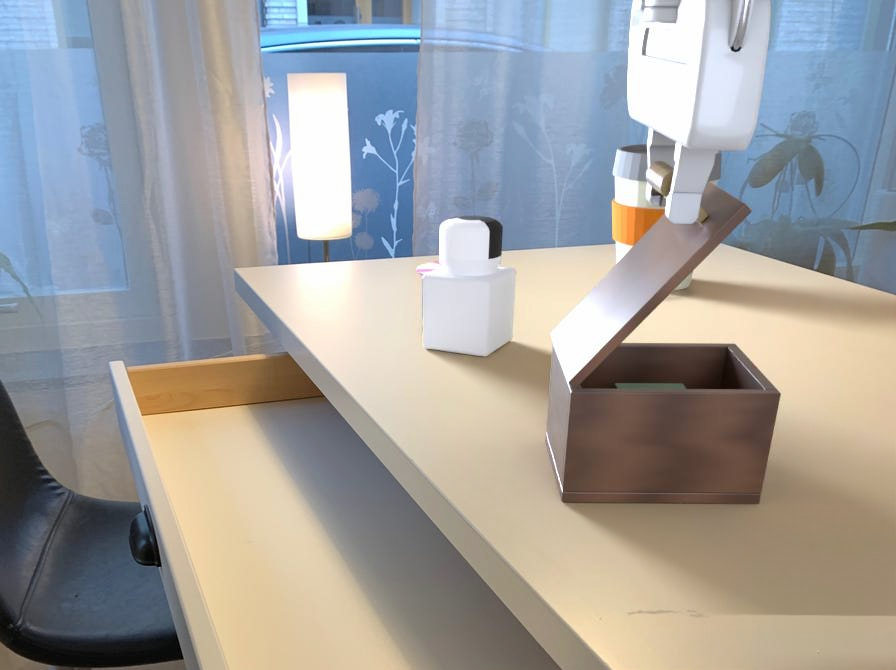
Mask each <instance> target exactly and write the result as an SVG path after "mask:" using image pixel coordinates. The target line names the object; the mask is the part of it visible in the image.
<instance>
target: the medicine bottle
mask: <svg viewBox="0 0 896 670" xmlns="http://www.w3.org/2000/svg"><path fill="white" fill-rule="evenodd" d="M503 231H504V226H503V224H502V223H501V221H499V220H497V219H495V218H493V217H491V216H487V215H473V214H472V215H469V214H468V215H454V216H451V217H449V218H447V219H445V220H443V221H442V222H441V223H440V225H439V242H438V243H439V252H438V254H439V255H438V257H439V258H438V261H439V262H440V263H441V264H442V267H440V268H438V269H436V270H434V271H431V272H429V273H427V274H425V275H422V278H421V279H422V281H421V284H422V285H421V287H422V289H421V295H422V297H421V299H422V300H421V309H422V310H421V346H422V348H423V349H427V350H434V351H442V352H448V353H456V354H463V355H469V356H476V357H477V356H478V357H488V356H490V354H492V353H494V352H495V351H497V350H498V349H500V348H501V347H503V346H504V345H506V344H508V343H509V342H510V341H512V340H513V337H514V336H513V335H514V318H515V299H516V298H515V297H516V281H517V280H516V279H517V278H516V277H517V270H516V269H515V267H510V266H500V265H501V264H502V252H503Z"/></svg>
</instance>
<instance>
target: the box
mask: <svg viewBox="0 0 896 670" xmlns="http://www.w3.org/2000/svg"><path fill="white" fill-rule="evenodd" d="M551 345H552V346H551V359H550V360H551V362H550V372H549V374H550V375H549V388H548V402H547V413H546V426H545V444H546V448H547V452H548V455H549V460H550V463H551V467H552V470H553V474H554V478H555V482H556V485H557V489H558V493H559V496H560V501H561V502H562V503H610V504H611V503H613V504H615V503H617V504H619V503H624V504H625V503H626V504H627V503H629V504H631V503H632V504H749V505H751V504H752V505H753V504H760V501H761V497H762V492H763V487H764V482H765V476H766V472H767V467H768V461H769V457H770V451H771V448H772V447H771V446H772V442H773V435H774V432H775V431H774V430H775V426H776V420H777V415H778V411H779V407H780V401H781V395H782V393H781V392H780V391H779V390H778V389H777V388H776V386H775V385H774V384H773V383H772V382H771V381H770V380H769V378H767V377H766V375H765V374H764V373H763V372H762V371H761V370H760V369H759V367H757V366H756V364H755V363H754V362H753V361H752V360H751V359H750V358H749V357H748V356H747V355H746V353H745V352H744V351H743V350H742V349H741V348H740V347H739V346H738V345H737V344H736V343H718V342H717V343H710V342H709V343H705V342H703V343H699V342H697V343H696V342H691V343H690V342H687V343H686V342H622V343H621V344H620V345H619V346H618V347H617V348H616V349H615V350H614V351H613V352H612V353H611V354H610V355H609V356H608V357H607V358H606V359H605V360H604V361H603V362H602V363H601V364H600V365H599V366H598V367H597V368H596V369H595V370H594V371H593V372H592V373H591V374H590V375H589V376H588V377H587V378H586V379H585V380H584V381H583V382H582V383H581V384H580V385H579V386H578V387H577V388H576V389H575V388H574V387H572V386H571V385H570V384H569V383H568V380H567V377H566V375H565V372H564V369H563V367H562V364H561V361H560V359H559V356H558V353H557V351H556V348H555V345H554V343H553V342H552V344H551ZM615 383H679V384H683V385H684V386H685V388H686V389H614V384H615Z"/></svg>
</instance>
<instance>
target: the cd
mask: <svg viewBox="0 0 896 670" xmlns="http://www.w3.org/2000/svg"><path fill="white" fill-rule="evenodd" d="M440 267H442V264H441V263H440V262H439V260H436V261H431V262H426V263H422V264H420V265H418V266H417V267H416V272H417V273H419V274H421V275H422V276H424V275H425V274H427V273H429V272H431V271H434V270H436V269H438V268H440Z"/></svg>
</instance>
